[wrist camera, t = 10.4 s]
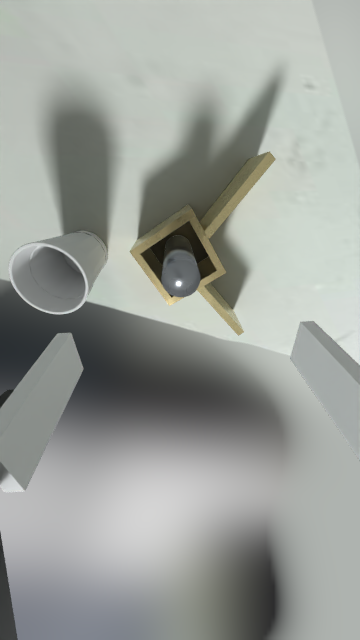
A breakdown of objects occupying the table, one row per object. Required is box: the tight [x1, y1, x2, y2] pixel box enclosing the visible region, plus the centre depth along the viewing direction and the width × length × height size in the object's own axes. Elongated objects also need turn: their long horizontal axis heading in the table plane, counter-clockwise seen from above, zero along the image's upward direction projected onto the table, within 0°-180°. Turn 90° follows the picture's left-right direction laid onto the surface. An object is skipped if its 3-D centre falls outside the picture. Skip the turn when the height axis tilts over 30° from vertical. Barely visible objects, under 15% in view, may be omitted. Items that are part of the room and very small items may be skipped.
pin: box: [161, 235, 200, 297], centre depth 29 cm, size 4×4×13 cm
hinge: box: [130, 152, 275, 336], centre depth 32 cm, size 19×18×7 cm
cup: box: [9, 230, 108, 314], centre depth 29 cm, size 8×8×12 cm
